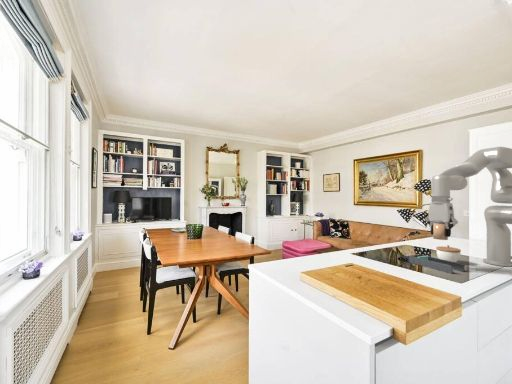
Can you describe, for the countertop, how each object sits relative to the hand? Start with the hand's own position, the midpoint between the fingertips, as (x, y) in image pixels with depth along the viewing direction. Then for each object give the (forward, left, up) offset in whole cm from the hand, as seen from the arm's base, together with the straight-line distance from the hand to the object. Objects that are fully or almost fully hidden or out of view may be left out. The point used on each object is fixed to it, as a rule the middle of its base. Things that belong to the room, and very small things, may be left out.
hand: (440, 235), depth 127 cm
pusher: (0, -9, -16) cm, 19 cm away
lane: (0, -3, -17) cm, 17 cm away
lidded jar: (-16, -6, -17) cm, 24 cm away
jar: (0, 0, -2) cm, 2 cm away
